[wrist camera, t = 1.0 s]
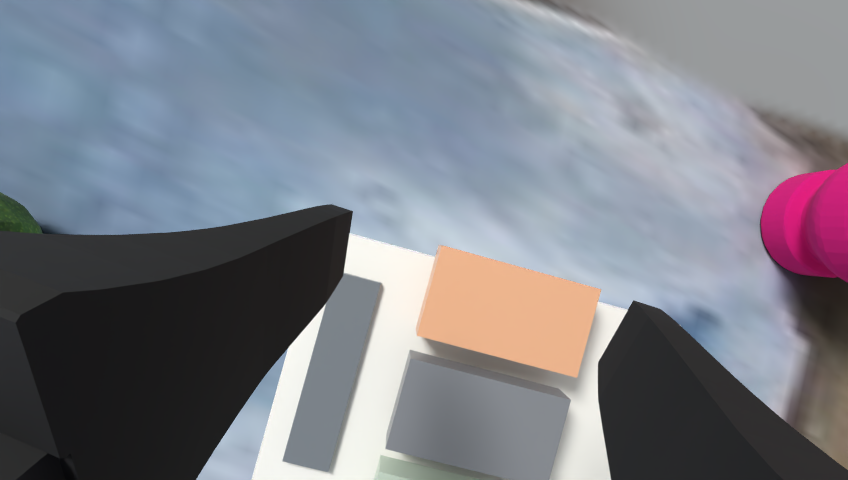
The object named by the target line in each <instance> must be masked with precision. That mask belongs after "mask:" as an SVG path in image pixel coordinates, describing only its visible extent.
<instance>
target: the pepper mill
mask: <svg viewBox="0 0 848 480" xmlns="http://www.w3.org/2000/svg"><path fill="white" fill-rule="evenodd" d="M761 232H762V238H763V241H764V244H765V246H766V248H767V250H768V251H769V253H770V255H771V257H772V258H773V259H774V260H775V261H776V262H777V263H779V264H780V265H781V266H782V267H784V268H785V269H787V270H789V271H792V272H794V273H797V274H801V275H809V276H820V277H831V278H835V277H839V278H841V279H842V280H844V281H846V282H848V163H847V164H845V165H844V166H842V167H840V168H839V169H837V170H827V171H820V172H814V173H807V174H801V175H797V176H794V177H792V178H789V179H787V180H786V181H784V182H783V183H781V184H780V185H779V186H778V187H777V188H776V189H775V190H774V191H773V192H772V193H771V194H770V195H769V197H768V199H767V201H766V203H765V205H764V207H763V212H762V217H761Z"/></svg>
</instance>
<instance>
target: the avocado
mask: <svg viewBox="0 0 848 480" xmlns="http://www.w3.org/2000/svg"><path fill="white" fill-rule="evenodd" d="M0 231H10V232H23V233H39V234H43V233H42V230H41V227H40V226H39V225H38V223H37V222H36V221H35V220H34V218H33V217H32V216H31V214H30V213H29V212H28V210H27V209H26V208H25V207H24V206H23V205H21V204H20V203H18V202H17V201H15V200H13V199H12V198H10V197H8V196H6V195H4V194H2V193H1V192H0Z"/></svg>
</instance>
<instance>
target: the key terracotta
mask: <svg viewBox="0 0 848 480" xmlns="http://www.w3.org/2000/svg"><path fill="white" fill-rule="evenodd" d="M600 292H601V289H598V288H594V287H590V286H587V285H583V284H579V283H576V282H572V281H569V280H565V279H561V278H558V277H554V276H551V275H547V274H543V273H540V272H536V271H533V270H529V269H525V268H522V267H518V266H515V265H511V264H507V263H504V262H500V261H497V260H493V259H489V258H486V257H482V256H479V255H475V254H471V253H468V252H464V251H461V250H457V249H453V248H450V247H446V246H443V245H439V246H438V249H437V253H436V256H435V260H434V264H433V267H432V271H431V275H430V278H429V282H428V285H427V289H426V293H425V296H424V300H423V303H422V307H421V311H420V314H419V318H418V322H417V325H416V334H417V336H420V337H424V338H428V339H431V340H435V341H439V342H443V343H447V344H450V345H454V346H458V347H462V348H466V349H469V350H473V351H477V352H481V353H485V354H488V355H492V356H496V357H500V358H504V359H507V360H511V361H515V362H519V363H523V364H526V365H530V366H534V367H538V368H542V369H545V370H549V371H553V372H557V373H560V374H564V375H568V376H572V377H576V378H577V376H578V373H579V369H580V365H581V362H582V358H583V354H584V351H585V347H586V343H587V340H588V336H589V332H590V329H591V325H592V322H593V318H594V314H595V311H596V307H597V303H598V300H599V296H600Z"/></svg>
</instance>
